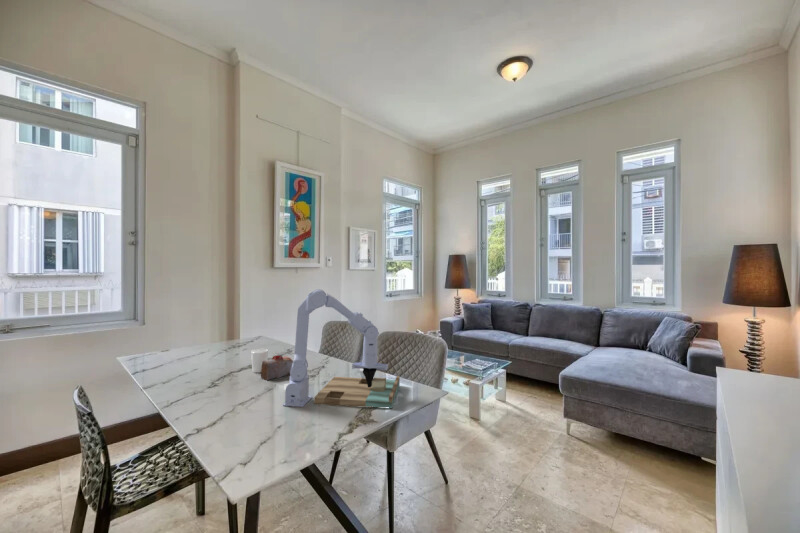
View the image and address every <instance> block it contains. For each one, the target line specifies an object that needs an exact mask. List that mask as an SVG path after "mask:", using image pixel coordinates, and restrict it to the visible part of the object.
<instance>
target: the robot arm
mask: <svg viewBox="0 0 800 533" xmlns="http://www.w3.org/2000/svg"><path fill="white" fill-rule="evenodd" d="M324 306H325V308H331V309H334V310H335V311H337V312H339V314H341V315H342V316H344V317H345V318H346V319H347V322H348V324H349V325H350V326H351V327H353V328H354V329H355V330H356V331H358V332H359V333H361V334H363V345H362V349H363V350H362V351H363V352H362V354H363V355H362V362H353V363H352V364H351V369H360V370H361V369H362V374H363V376H364V378H366V381H367V385H368V387H371V386H372V381H373V379H374V376H375V374H376V372H377V370H383V371H388V363H380V362H378V337H379V333H380V332H379V329H378V328H377V326H376V325H374V323H372V321H371V320H368V319H367V318H365V317H364V316H363V313H361V312H357V311H356V312H353V311H351V310H350V309H349V308H347V307H346V306H345V305H344V304H343V303H342V302H341V301H339V300H338V299H337V298H335V297H334V296H332V295H331V294H329V293H326V292H325V291H324V290H323V289H319V288H318V289H314V290H313V291H311V292H310V293H308V295H307V296H306V297H305V298H304V300H303V301H302V302H301V304H300V305H299V306H298V308H297V316H296V328H295V340H294V341H295V342H294V344H295V345H294V355H293V363H292V368H291V370H290V374H289V382H288V385H287V386H286V388H285V402H284V403H283V404H282V406H285V407H300V408H303V407H304V406H305V405H307V403H308V402H309V401H310V400H311V399H312V398H313V395H310V394H309V392H310V388H309V386H310V385H309V384H310V383H309V382H310V380H309V379H310V376H309V374H308V368H309V363H308V360H307V350H308V337H309V336H308V334H309V324H310V314H311V313H313V312H314V311H315V310H317V309H319V308H322V307H324Z"/></svg>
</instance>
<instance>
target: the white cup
mask: <svg viewBox="0 0 800 533" xmlns="http://www.w3.org/2000/svg"><path fill="white" fill-rule="evenodd" d="M250 356H251V357H250V358H251V372H252V373H255V374H256V373H257V374H259V373H260V374H261V369H262V362H263V361H265V360H269V359H268V358H269V349H267V348H257V349H252V350H251V351H250Z"/></svg>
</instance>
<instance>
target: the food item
mask: <svg viewBox="0 0 800 533" xmlns="http://www.w3.org/2000/svg"><path fill="white" fill-rule="evenodd" d="M293 361H294V359H293V360H292V358H291V357H290V356H288V355H287V356H286V355H285V356H282V355H273V356H272V358H270V359H268V360H265V361H263V362H262V369H261V372H260V374H261V375H260V378H261V379H263V380H265V381H269V380H273V379H276V378H278V379H279V378H282V377H284V376H288V375H290V370H291V368H292V363H293Z"/></svg>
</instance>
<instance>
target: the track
mask: <svg viewBox="0 0 800 533" xmlns="http://www.w3.org/2000/svg"><path fill="white" fill-rule="evenodd" d="M400 383H401V382H400V375H396V377H395V379H387V378H386V389H385V391H384V392H375V391H372V386H371V387H368V385H367V381H366V378H365V377H351V376H350V377H349V376H348V377H347V376H346V377H345V376H334V377H333V378H331V379H330V380H329V381H328V383H326V384H325V386H324V387H322V389H321V390H320V391H319V392H318V393H317V394H316V395H315V396H314V397H313V400H314V401H313V403H314V405H321V404H326V405H325V406H337V405H345V406H344V407H352V406H371V407H372V406H373V407H389V408H392V409H393V407H392V406H394V404H395V401H396V398H397V395H398V391H399V389H400V385H401V384H400ZM395 397H396V398H395ZM394 400H395V401H394ZM393 403H394V404H393ZM346 405H348V406H346Z"/></svg>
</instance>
